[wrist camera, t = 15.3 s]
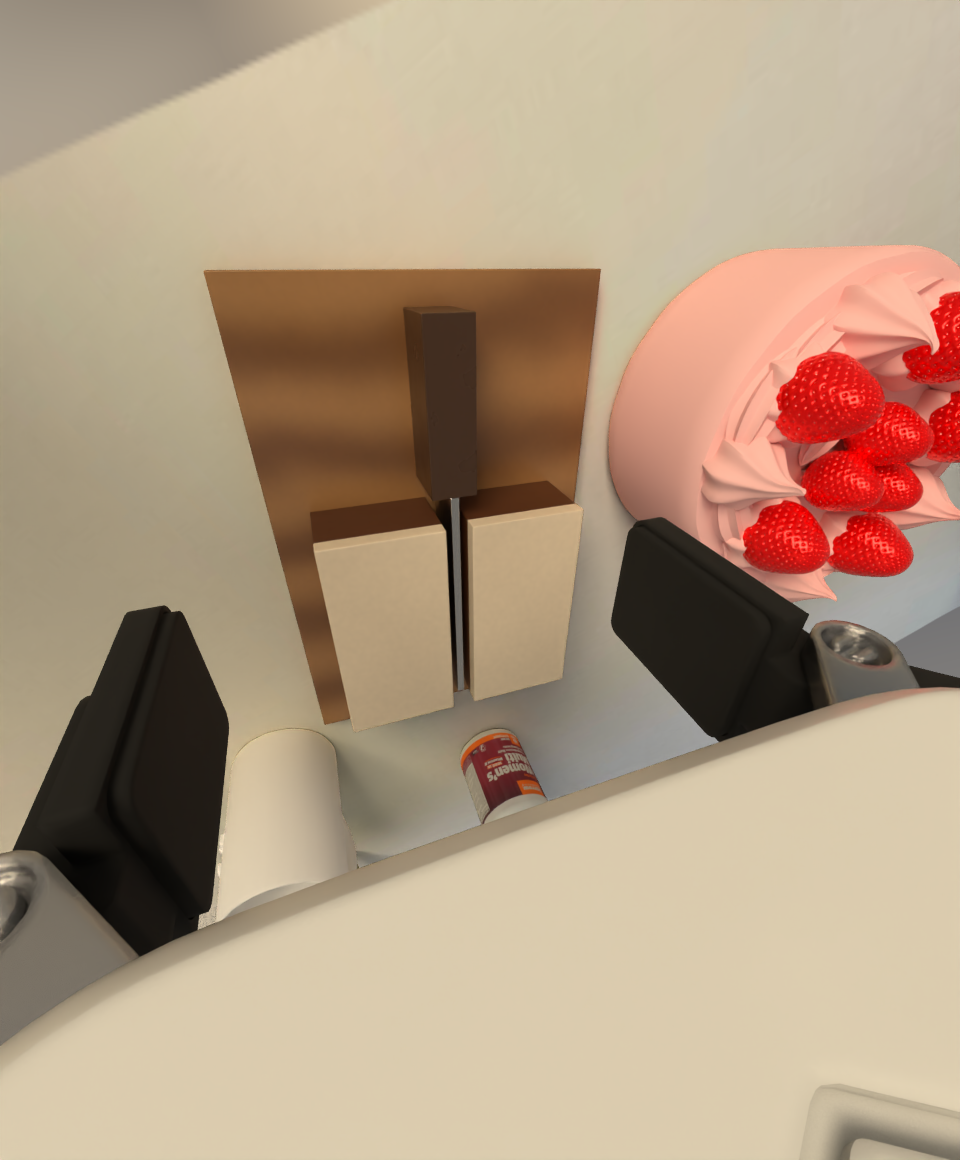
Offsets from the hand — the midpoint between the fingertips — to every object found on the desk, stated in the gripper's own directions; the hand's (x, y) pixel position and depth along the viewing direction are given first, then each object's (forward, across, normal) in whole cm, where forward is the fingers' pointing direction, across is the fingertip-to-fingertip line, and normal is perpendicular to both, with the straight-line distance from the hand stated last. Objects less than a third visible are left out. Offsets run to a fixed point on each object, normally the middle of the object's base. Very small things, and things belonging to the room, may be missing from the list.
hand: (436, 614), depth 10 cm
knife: (+20, -5, +8) cm, 22 cm away
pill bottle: (+21, -9, +34) cm, 41 cm away
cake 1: (+20, -1, +13) cm, 24 cm away
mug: (+21, +8, +30) cm, 37 cm away
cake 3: (+21, -27, +3) cm, 34 cm away
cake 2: (+20, -9, +13) cm, 25 cm away
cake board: (+21, -5, +9) cm, 23 cm away
